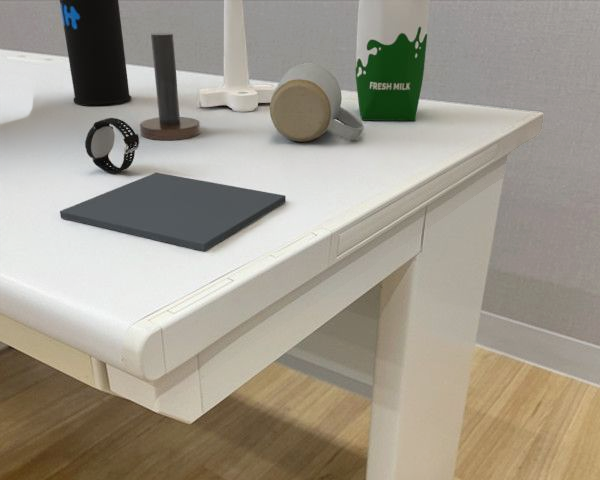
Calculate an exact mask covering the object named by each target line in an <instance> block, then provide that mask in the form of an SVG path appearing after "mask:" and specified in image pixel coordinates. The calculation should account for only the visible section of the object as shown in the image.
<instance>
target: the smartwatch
mask: <svg viewBox="0 0 600 480" xmlns="http://www.w3.org/2000/svg"><path fill="white" fill-rule="evenodd" d="M114 128H116V129H117V130H118V132H119V133H120V134H121V135H122V136H123V138H122V140H123V142H124V144H125V145H124V150H123V160H122V164H121V165H120V167H118V166H116V165H115V164H114V163H113V162H112V161H111V159H110V158H109V157H110V156H109V155H110V153H111V152H112V150H113V147H114V144H115V138H116V137H115V131H114ZM84 147H85V151H86V154H87V155H88V157H89V158H90V159H92V162H93V164H94V165H95V166H96V167H98V168H99V169H101V170H102V171H104V172H106V173H108V174H112V175H113V174H115V175H116V174H118V173H121V172H123V171H126V170H127V169H129V168H130V167H131V166H132V164H133V162H134V159H135V155H136V154H135V153H136V151H137V150H138V148H139V147H140V136H139V134H138V133H136V132H135V130H134V129H133V128H132V127H131V126H130V125H129V123H127V122H126V121H124V120H122V119H120V118H116V117H107V118H104V119H100V120H97V121H95V122H94V123H93V124H92V126H91V127H90V129H89V131H88V132H87V134H86V138H85V141H84Z"/></svg>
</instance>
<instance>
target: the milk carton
mask: <svg viewBox="0 0 600 480" xmlns="http://www.w3.org/2000/svg"><path fill="white" fill-rule="evenodd" d="M430 3H431V0H358V9H357V25H356V27H357V28H356V48H355V49H356V50H355V83H356V93H357V102H358V110H359V114H360V119H361V121H405V122H406V121H408V122H410V121H411V122H412V121H413V122H415V121H416V117H417V113H418V109H419V102H420V97H421V95H420V94H421V90H422V87H423V86H422V85H423V81H424V72H425V62H426V52H427V43H428V42H427V41H428V31H429V21H430V20H429V19H430V7H431V6H430V5H431V4H430Z"/></svg>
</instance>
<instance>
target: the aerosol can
mask: <svg viewBox="0 0 600 480" xmlns="http://www.w3.org/2000/svg"><path fill="white" fill-rule="evenodd" d="M119 3H120V1H119V0H59V6H60V12H61V18H62V23H63V24H62V25H63V31H64V37H65V43H66V48H67V49H66V50H67V56H68V63H69V69H70V74H71V81H72V88H73V94H74V98H73V99H72V101H73V103H74V104H77V105H81V106H88V107H106V106H107V107H108V106H116V105H122V104H125V103H129V102H131V100H132V96H131V95H130V88H129V79H128V71H127V63H126V62H127V61H126V55H125V54H126V53H125V46H124V37H123V29H122V21H121V12H120V4H119Z"/></svg>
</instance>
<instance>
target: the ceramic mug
mask: <svg viewBox="0 0 600 480" xmlns="http://www.w3.org/2000/svg"><path fill="white" fill-rule="evenodd" d="M275 87H276V89H275V90H274V93H273V95H272V98H271V102H270V103H269V115H270V119H271V122H272V124H273V126H274V127H275V129H276V130H277V131H278V133H280V134H281V136H283V137H284V138H286V139H288V140H290V141H293V142H299V143H301V142H302V143H303V142H310V141H313V140H315V139H317V138H319V137H321V136H322V135H324V133H326V132H328V133H330V134H331V135H334V136H335V137H338V138H341V139H342V140H347V141H357V140H359V139H360V137H361V135H362V133H363V131H364V128H365V125H364V123H363V122H362V120H360V119H359V118H358V117H357V116H356V115H354V113H352V112H351V111H349V110H348V109H346V108H344V107H342V106H341V104H342V90H341V87H340V84H339V81H338V80H337V78H336V77H335V75H334V74H333V73H332V72H330V70H328V69H327V68H325V67H324V66H322V65H320V64H317V63H314V62H313V63H312V62H308V63H307V62H305V63H300V64H297V65H295V66H293V67H291V68H289V70H288V71H286V73H284V75H283V77H282V79H281V80H280V81H279V83H278V84H277V86H275Z"/></svg>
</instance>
